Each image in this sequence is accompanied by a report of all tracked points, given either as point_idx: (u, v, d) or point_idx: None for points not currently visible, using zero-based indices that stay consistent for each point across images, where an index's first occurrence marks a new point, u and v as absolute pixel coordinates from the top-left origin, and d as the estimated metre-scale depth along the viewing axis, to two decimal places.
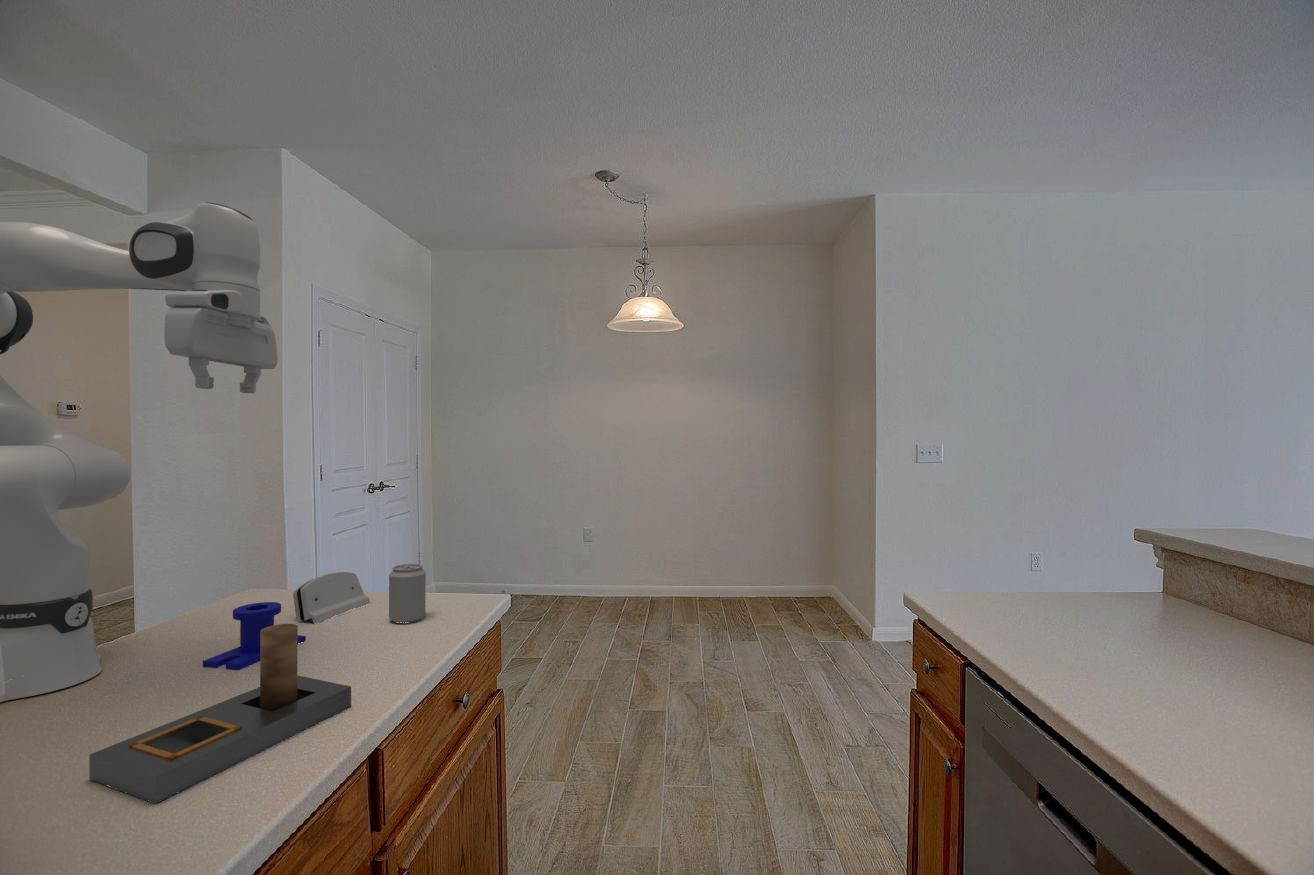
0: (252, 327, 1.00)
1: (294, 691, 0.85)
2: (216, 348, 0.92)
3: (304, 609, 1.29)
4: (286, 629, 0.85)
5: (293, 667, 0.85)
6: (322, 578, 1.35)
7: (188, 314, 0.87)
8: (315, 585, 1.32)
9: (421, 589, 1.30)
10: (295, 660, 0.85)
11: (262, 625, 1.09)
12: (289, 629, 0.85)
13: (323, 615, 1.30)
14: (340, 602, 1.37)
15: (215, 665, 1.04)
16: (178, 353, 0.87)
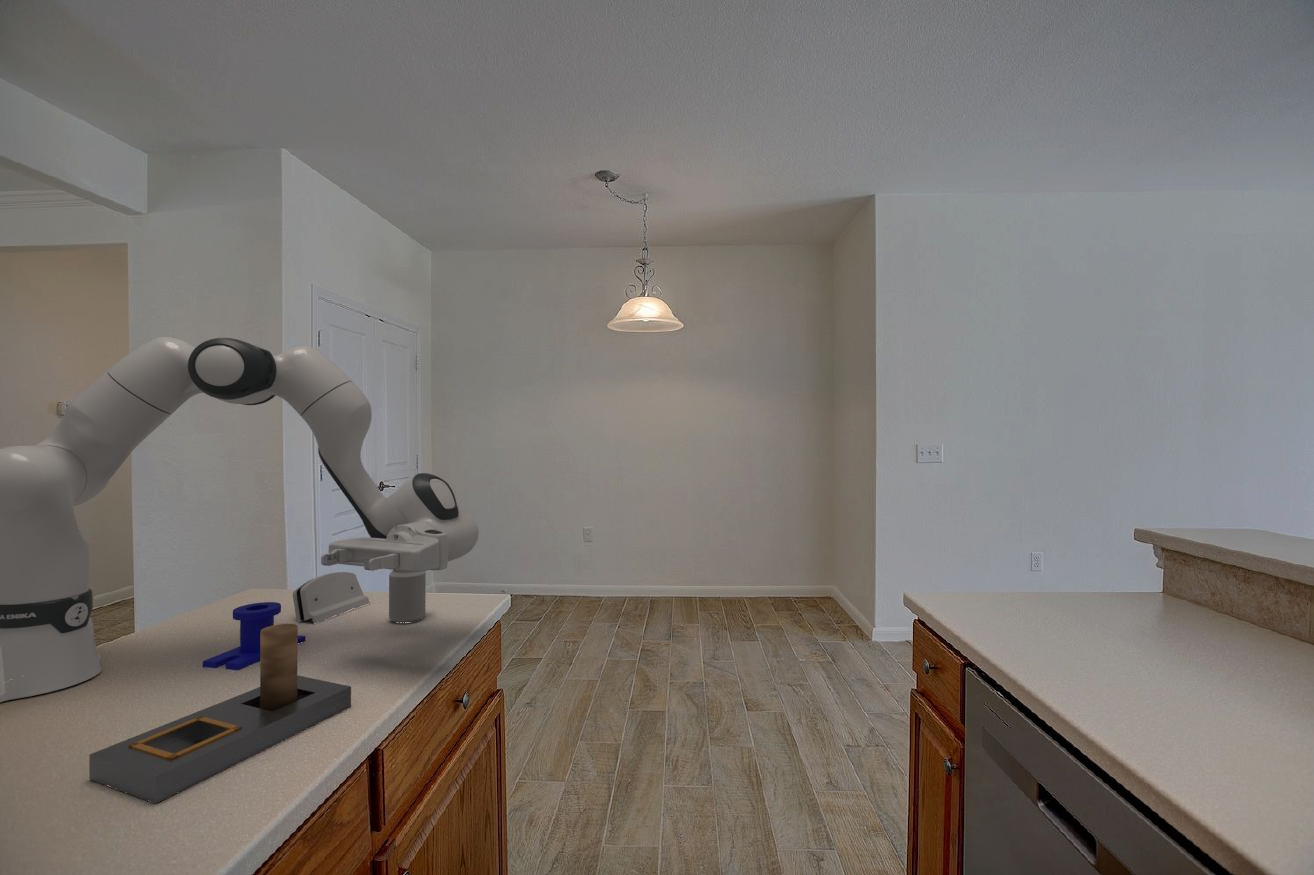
0: None
1: (294, 691, 0.85)
2: None
3: (304, 609, 1.29)
4: (286, 629, 0.85)
5: (293, 667, 0.85)
6: (321, 578, 1.35)
7: (438, 562, 1.02)
8: (315, 585, 1.32)
9: (421, 589, 1.30)
10: (295, 660, 0.85)
11: (262, 625, 1.09)
12: (289, 629, 0.85)
13: (323, 615, 1.30)
14: (339, 602, 1.37)
15: (215, 665, 1.04)
16: (413, 560, 0.96)
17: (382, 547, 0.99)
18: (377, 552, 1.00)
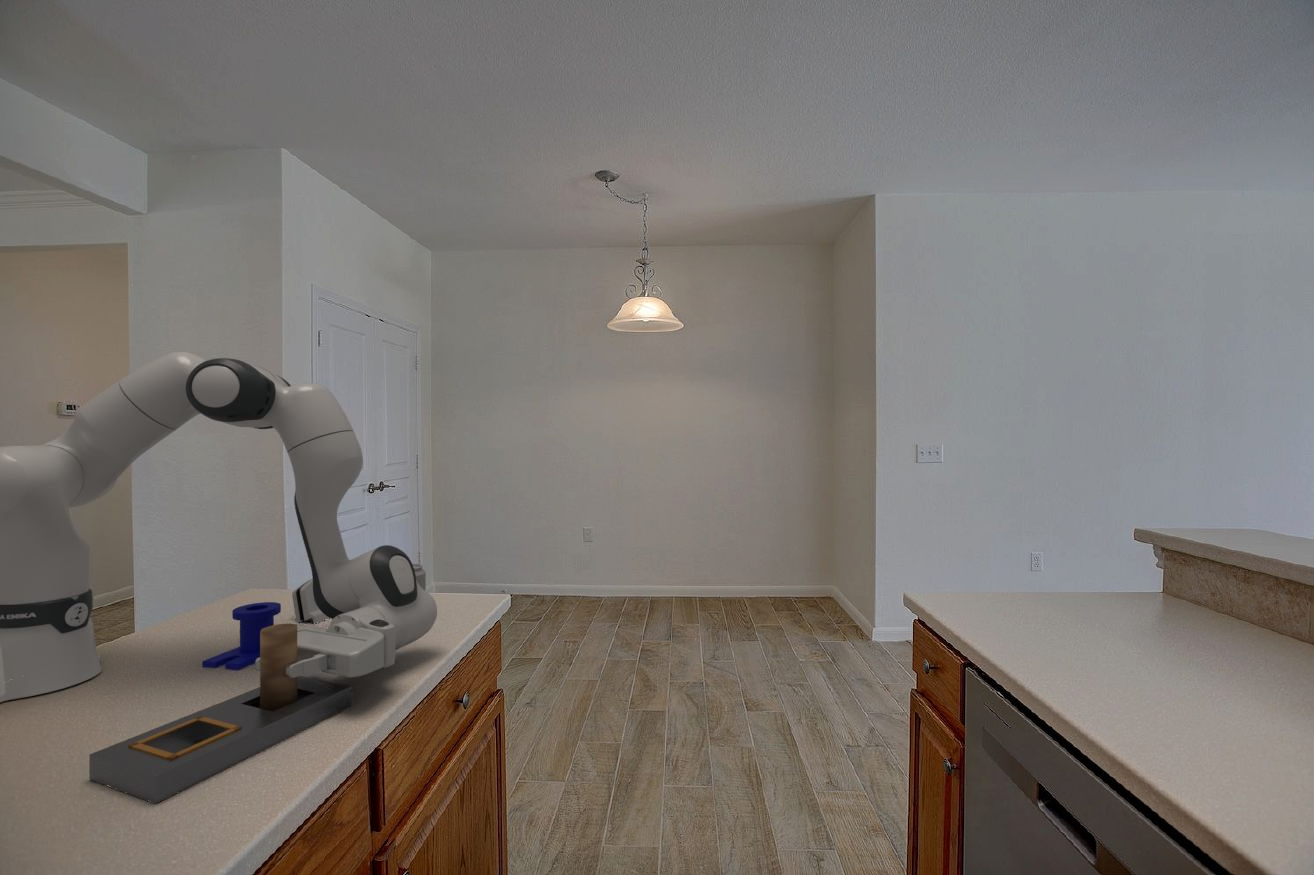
0: None
1: (294, 691, 0.85)
2: None
3: (304, 609, 1.29)
4: (286, 629, 0.85)
5: None
6: None
7: (382, 660, 0.90)
8: None
9: None
10: (295, 660, 0.85)
11: (262, 625, 1.09)
12: (289, 629, 0.85)
13: (323, 615, 1.30)
14: None
15: (215, 665, 1.04)
16: (351, 665, 0.85)
17: (318, 646, 0.88)
18: (312, 651, 0.89)
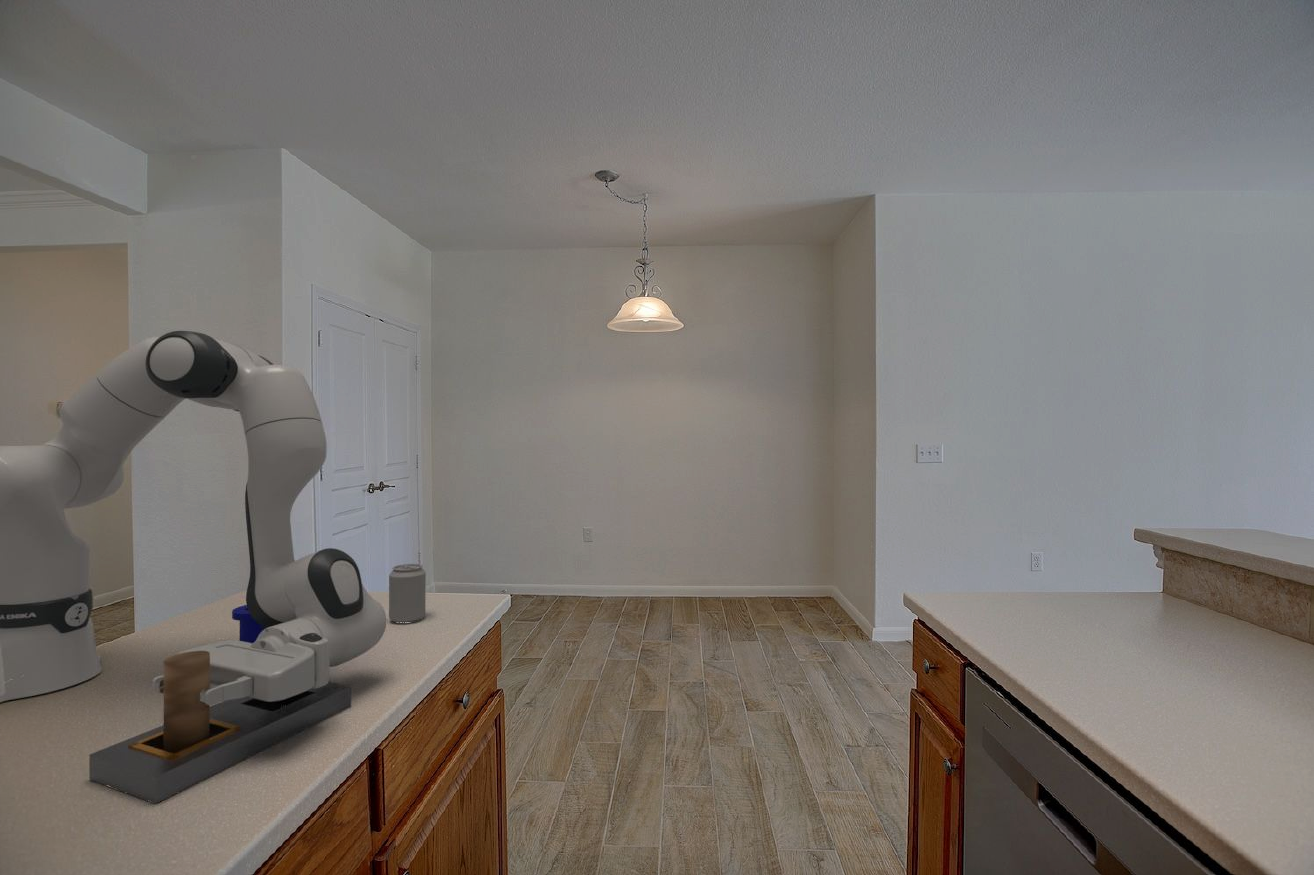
0: None
1: (204, 729, 0.74)
2: None
3: None
4: (195, 658, 0.73)
5: None
6: None
7: (311, 681, 0.79)
8: None
9: (421, 589, 1.30)
10: None
11: None
12: (198, 658, 0.73)
13: None
14: None
15: None
16: (270, 687, 0.74)
17: (235, 666, 0.77)
18: None
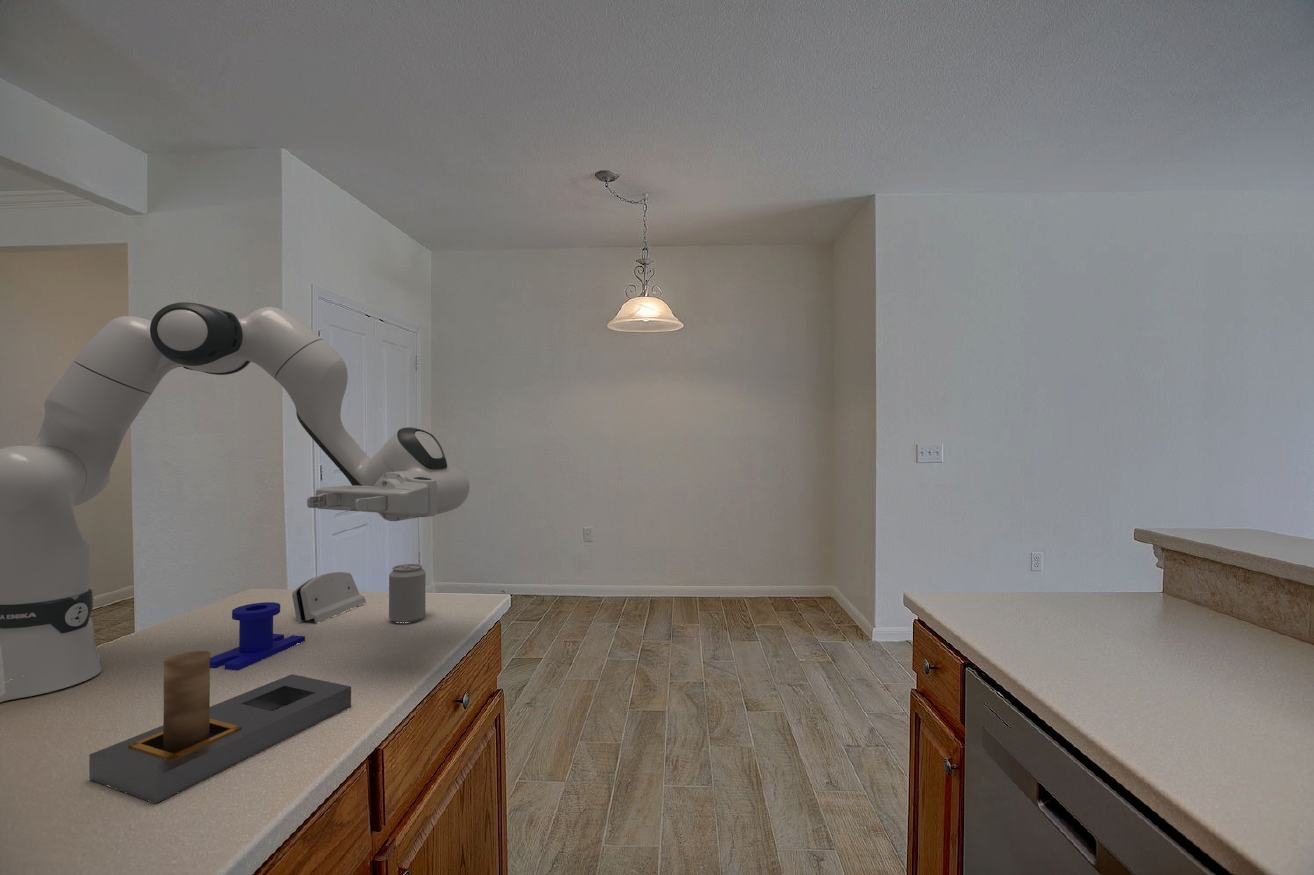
0: None
1: (204, 729, 0.74)
2: None
3: (305, 609, 1.29)
4: (195, 658, 0.73)
5: (202, 702, 0.73)
6: (320, 578, 1.34)
7: (427, 507, 1.00)
8: (314, 585, 1.32)
9: (421, 589, 1.30)
10: (206, 694, 0.74)
11: (261, 625, 1.09)
12: (198, 658, 0.73)
13: (324, 615, 1.31)
14: (338, 602, 1.37)
15: (214, 665, 1.03)
16: (401, 502, 0.94)
17: (370, 490, 0.97)
18: (365, 496, 0.98)
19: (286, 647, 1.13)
